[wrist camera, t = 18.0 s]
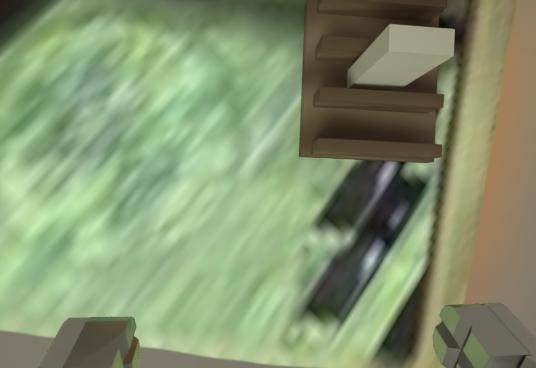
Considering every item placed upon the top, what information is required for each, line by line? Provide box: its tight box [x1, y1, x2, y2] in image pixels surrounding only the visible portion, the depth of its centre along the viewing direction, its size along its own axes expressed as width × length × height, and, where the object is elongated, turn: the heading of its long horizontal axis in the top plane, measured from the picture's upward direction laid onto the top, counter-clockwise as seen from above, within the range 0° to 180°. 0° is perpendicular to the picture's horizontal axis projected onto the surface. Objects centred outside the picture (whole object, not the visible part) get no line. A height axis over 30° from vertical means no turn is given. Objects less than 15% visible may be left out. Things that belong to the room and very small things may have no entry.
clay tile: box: [347, 24, 455, 91], centre depth 30 cm, size 2×5×10 cm, turn 87°
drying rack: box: [299, 0, 447, 163], centre depth 35 cm, size 16×14×4 cm
